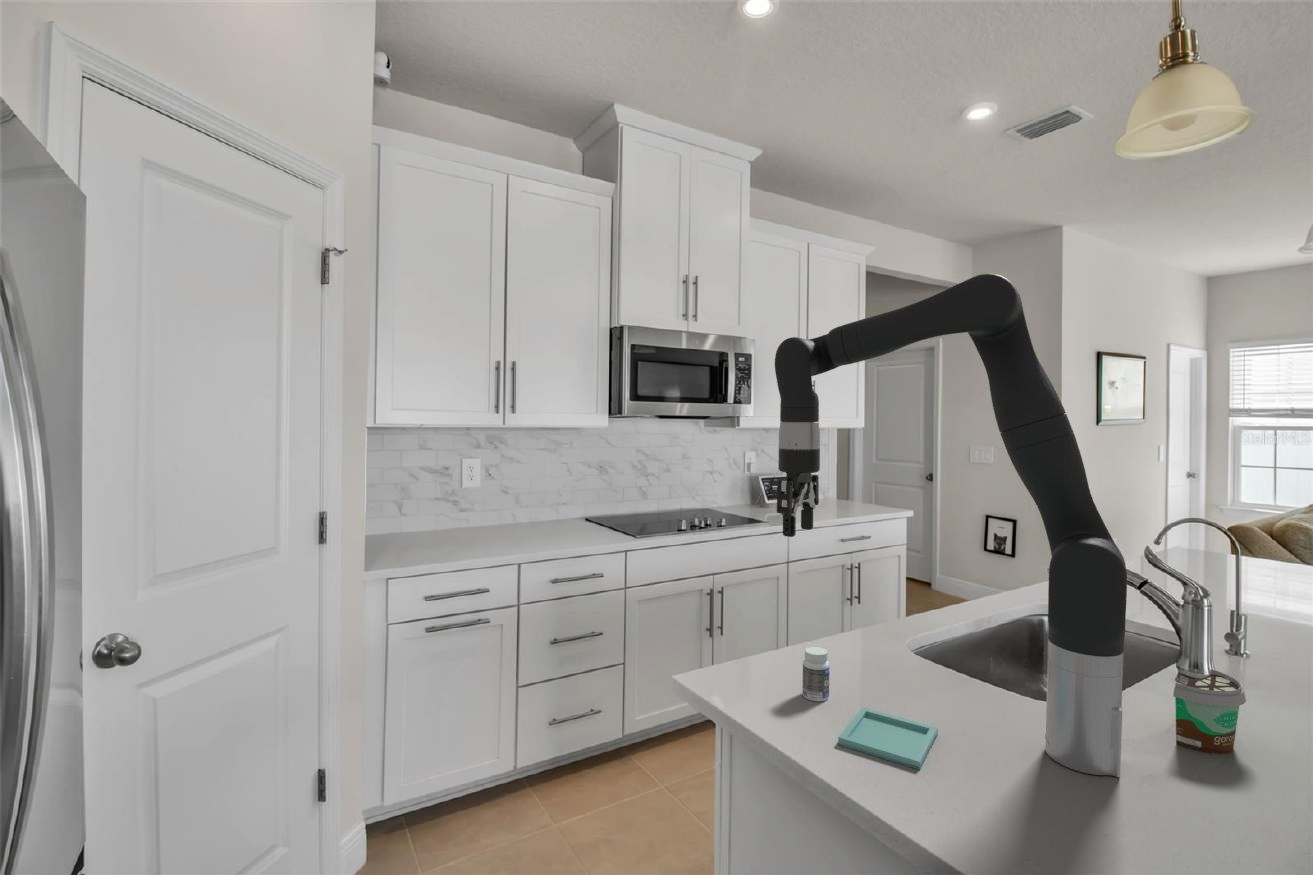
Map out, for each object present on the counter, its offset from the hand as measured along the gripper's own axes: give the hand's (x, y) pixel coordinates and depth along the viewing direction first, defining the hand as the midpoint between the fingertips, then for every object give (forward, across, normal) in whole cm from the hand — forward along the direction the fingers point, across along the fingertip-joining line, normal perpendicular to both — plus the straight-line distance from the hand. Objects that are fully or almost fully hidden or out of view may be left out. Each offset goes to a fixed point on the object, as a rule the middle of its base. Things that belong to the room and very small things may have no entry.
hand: (798, 532), depth 119 cm
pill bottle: (+29, -3, -5) cm, 30 cm away
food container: (+29, +16, -62) cm, 70 cm away
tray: (+29, -11, -20) cm, 37 cm away
